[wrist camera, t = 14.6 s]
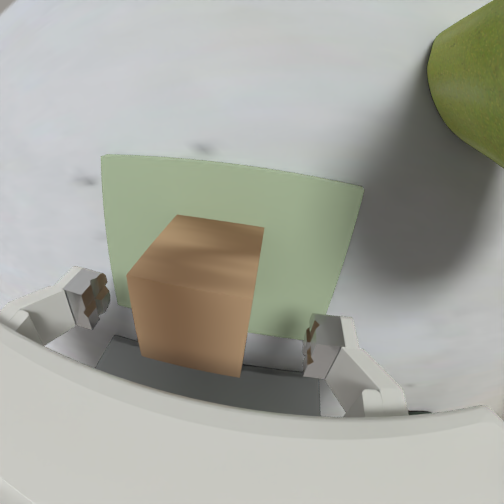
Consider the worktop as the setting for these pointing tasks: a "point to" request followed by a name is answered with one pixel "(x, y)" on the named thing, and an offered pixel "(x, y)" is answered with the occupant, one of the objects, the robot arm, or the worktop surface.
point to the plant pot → (472, 79)
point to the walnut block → (196, 293)
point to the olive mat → (243, 212)
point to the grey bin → (216, 382)
